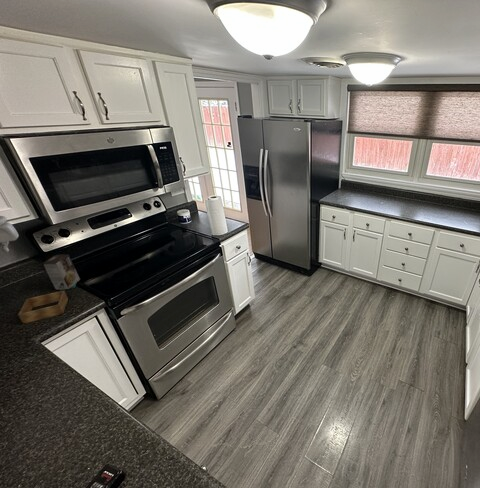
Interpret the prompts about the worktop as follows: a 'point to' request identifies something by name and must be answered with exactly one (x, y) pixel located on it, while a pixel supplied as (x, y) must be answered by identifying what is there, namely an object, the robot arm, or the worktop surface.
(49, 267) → the coffee box
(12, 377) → the worktop surface
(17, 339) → the worktop surface
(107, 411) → the worktop surface
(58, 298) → the holder
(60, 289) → the mat
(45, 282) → the worktop surface
